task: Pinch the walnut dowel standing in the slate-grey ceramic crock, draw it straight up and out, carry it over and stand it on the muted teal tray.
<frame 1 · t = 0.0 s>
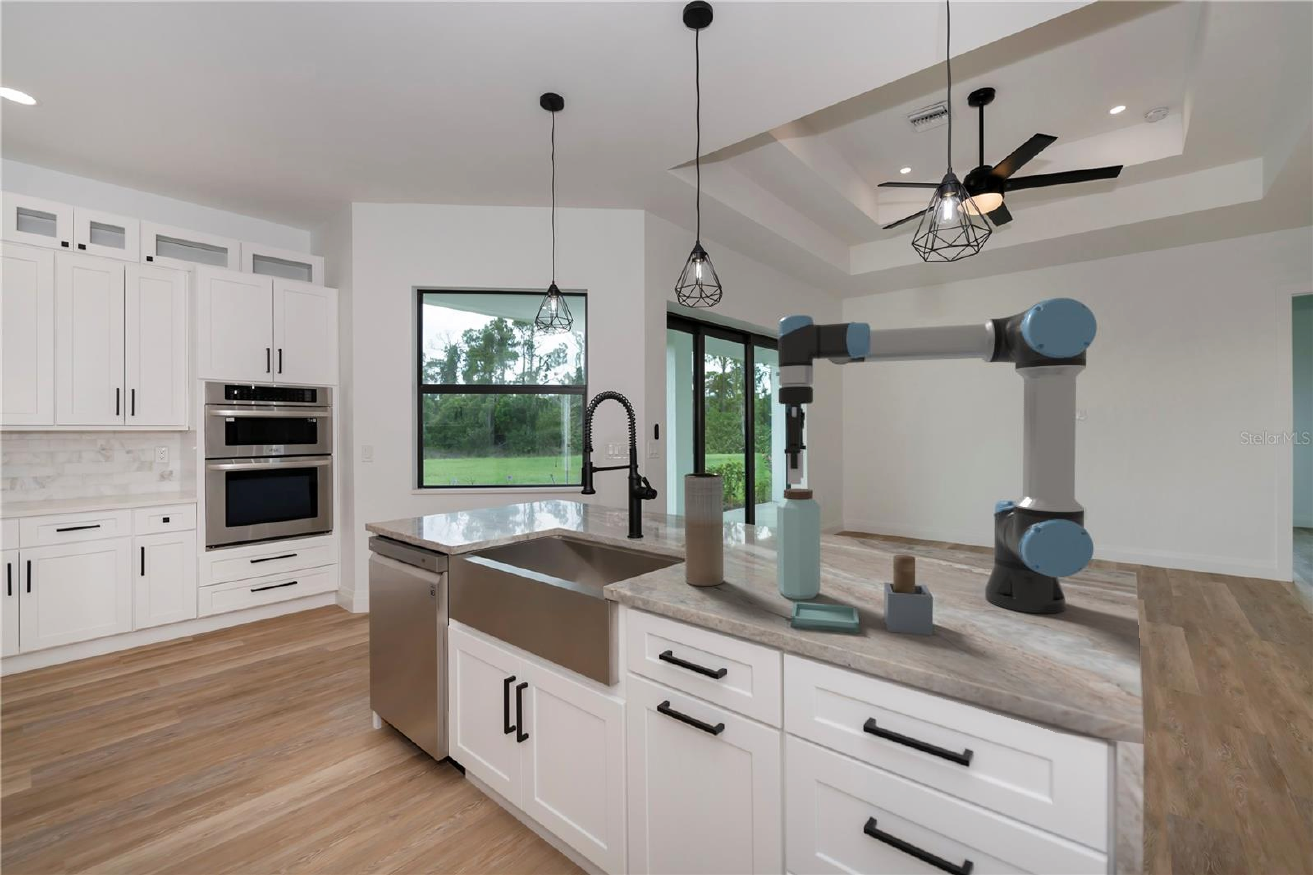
hand: (795, 480, 129), 28 cm above the worktop, fingers open, 13 cm apart
water bottle: (798, 594, 137), on the worktop
tray: (824, 621, 118), on the worktop
dowel: (904, 625, 115), resting in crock
vase: (704, 582, 148), on the worktop
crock: (907, 626, 115), on the worktop
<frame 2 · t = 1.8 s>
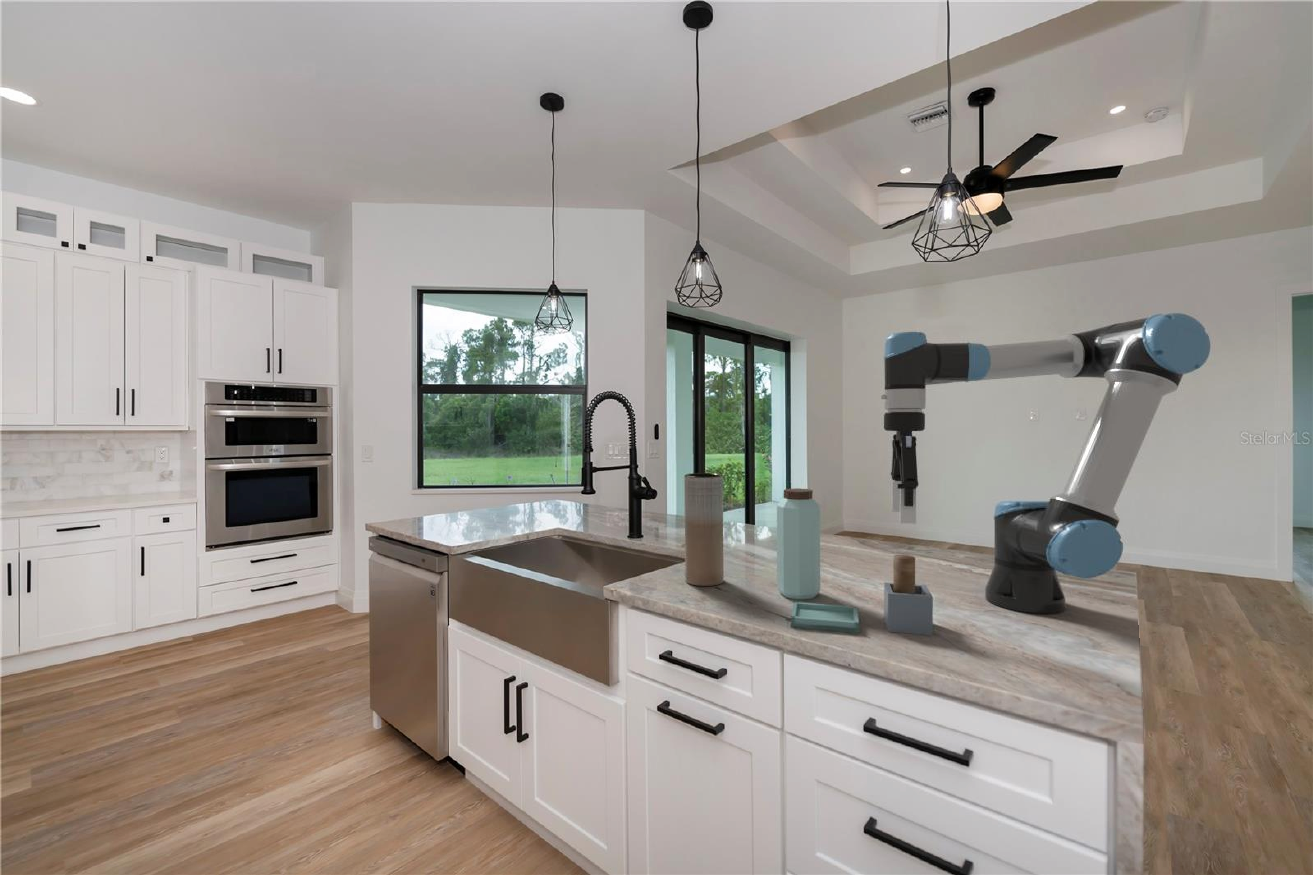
hand: (903, 517, 114), 22 cm above the worktop, fingers open, 13 cm apart
nothing on the worktop moved.
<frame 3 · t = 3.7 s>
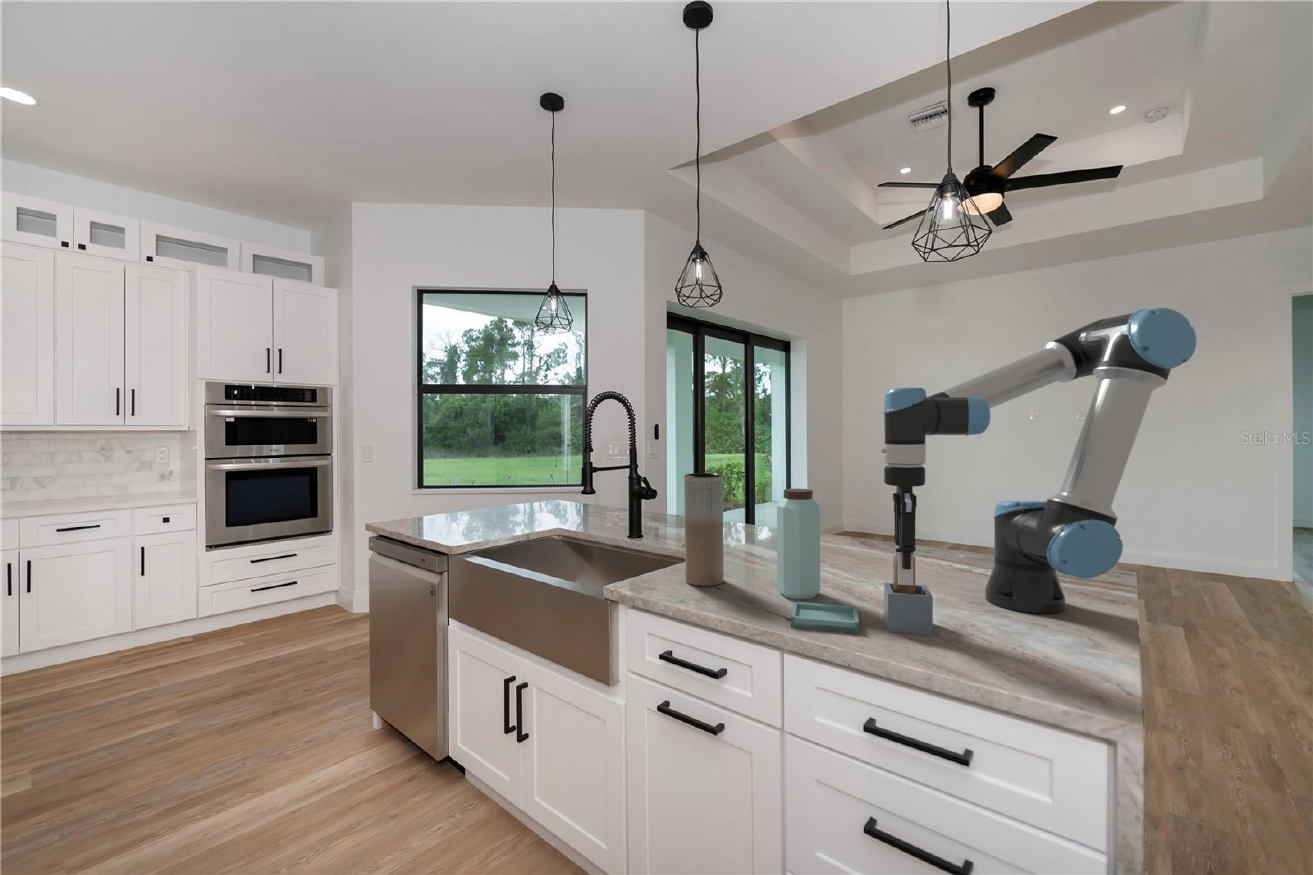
hand: (904, 580, 115), 9 cm above the worktop, fingers closed on dowel, 4 cm apart
dowel: (904, 625, 115), resting in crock, touching gripper
everything else where it was.
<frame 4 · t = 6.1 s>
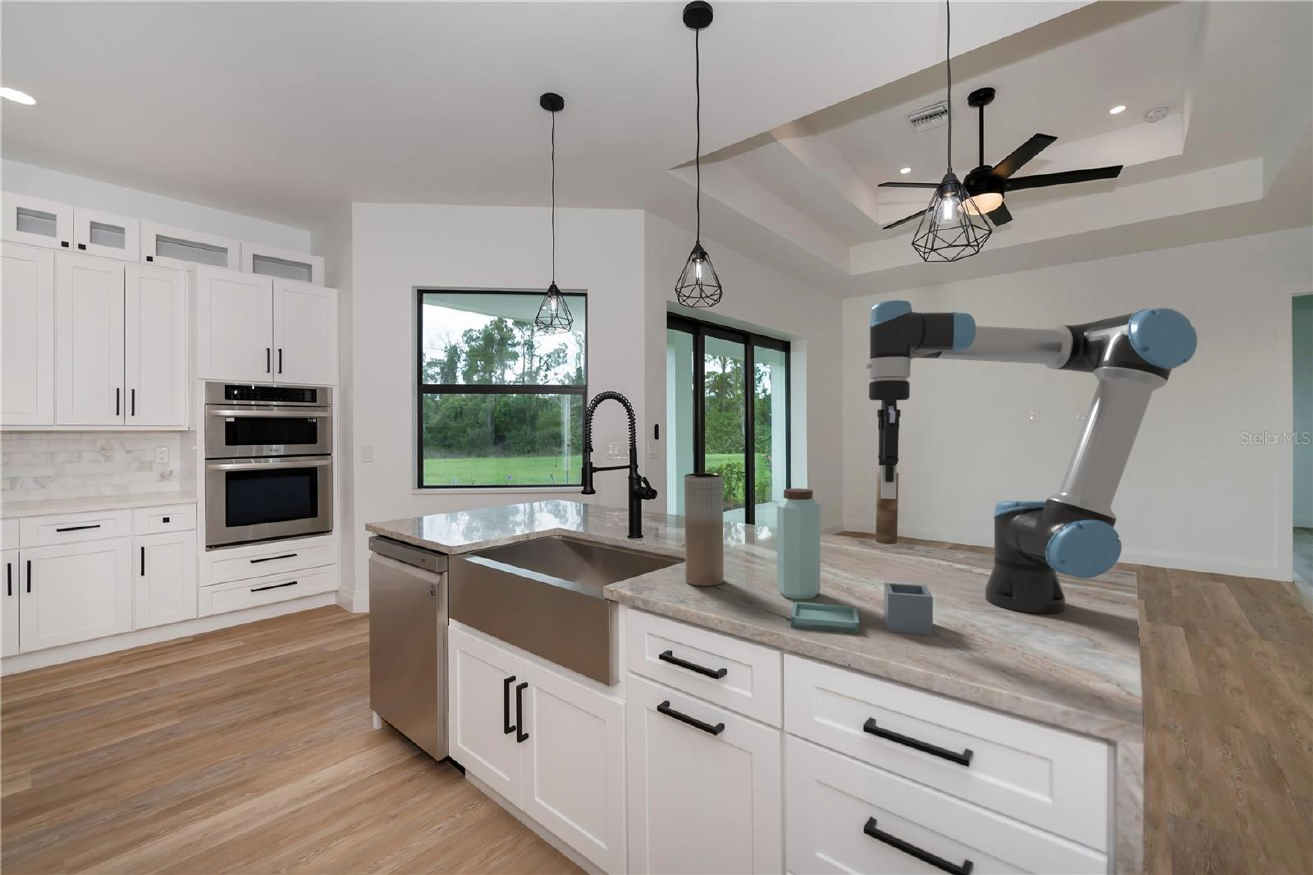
hand: (887, 496, 115), 26 cm above the worktop, fingers closed on dowel, 4 cm apart
dowel: (886, 541, 115), point 17 cm above the worktop, touching gripper
everything else where it was.
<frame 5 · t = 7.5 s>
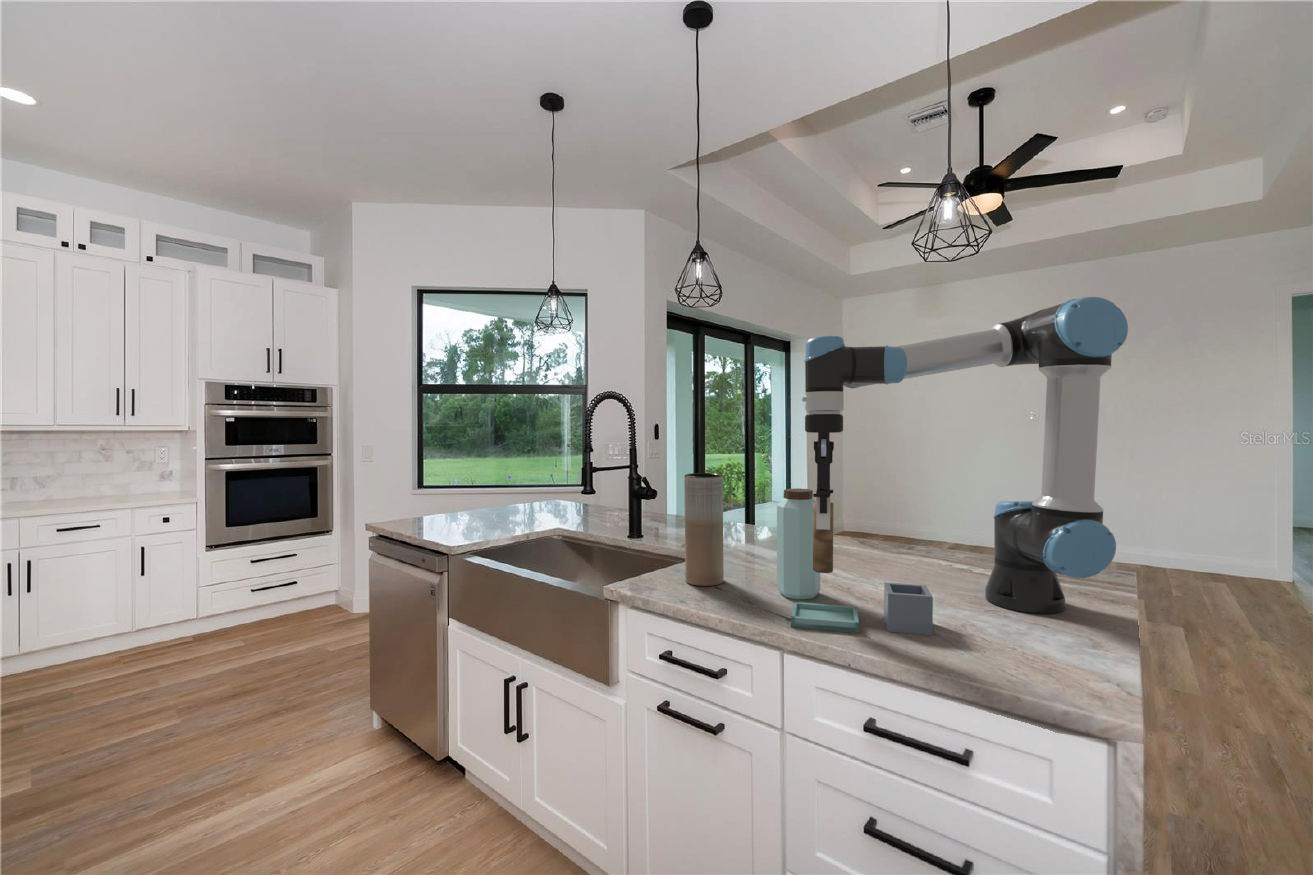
hand: (823, 526, 117), 20 cm above the worktop, fingers closed on dowel, 4 cm apart
dowel: (822, 570, 118), point 11 cm above the worktop, touching gripper
everything else where it was.
when the fingers open (12 cm above the worktop, at t = 8.6 s): dowel drops 1 cm, resting on tray.
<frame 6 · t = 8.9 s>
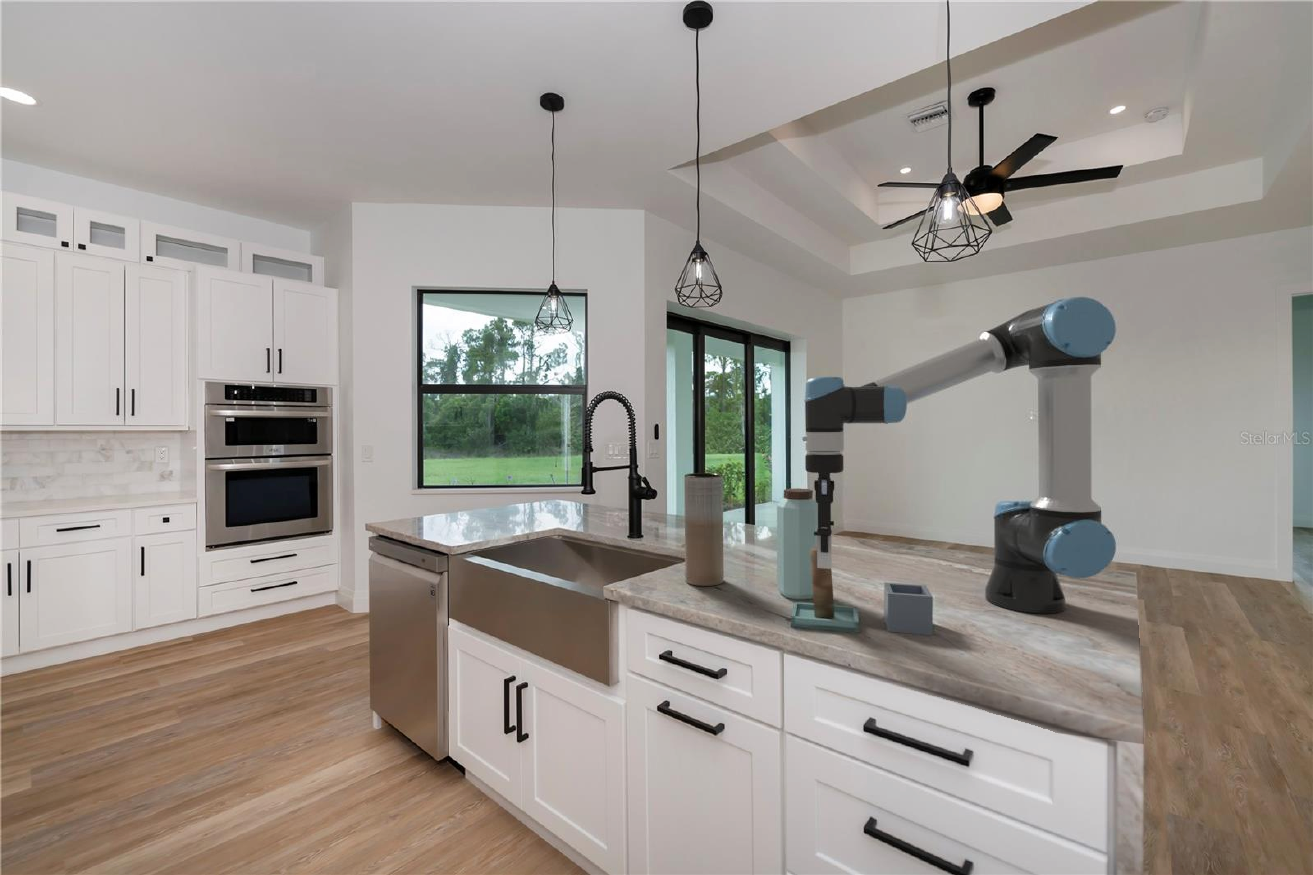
hand: (824, 562, 118), 12 cm above the worktop, fingers open, 9 cm apart
dowel: (824, 616, 118), point 1 cm above the worktop, touching tray
everything else where it was.
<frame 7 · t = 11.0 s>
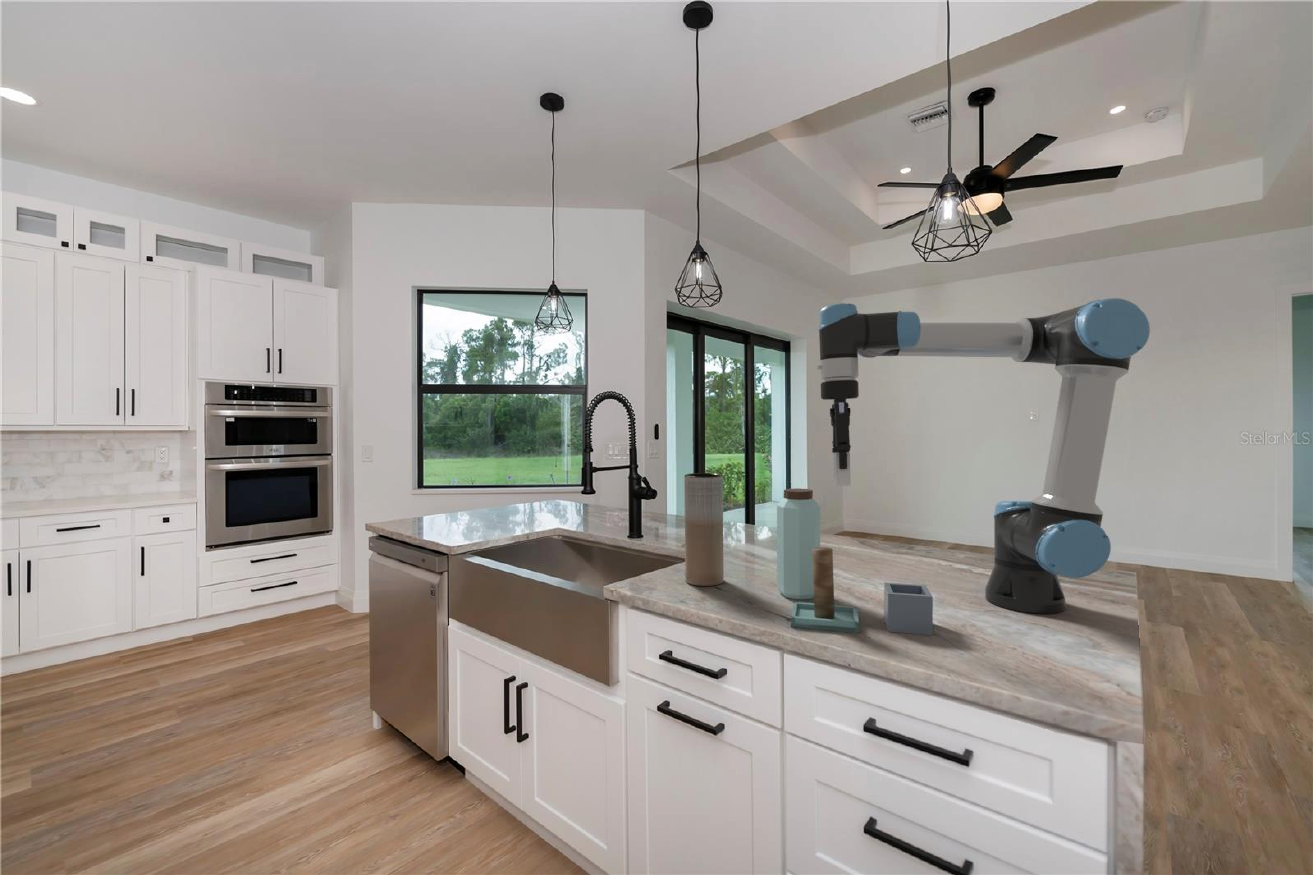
hand: (841, 481, 120), 29 cm above the worktop, fingers open, 13 cm apart
nothing on the worktop moved.
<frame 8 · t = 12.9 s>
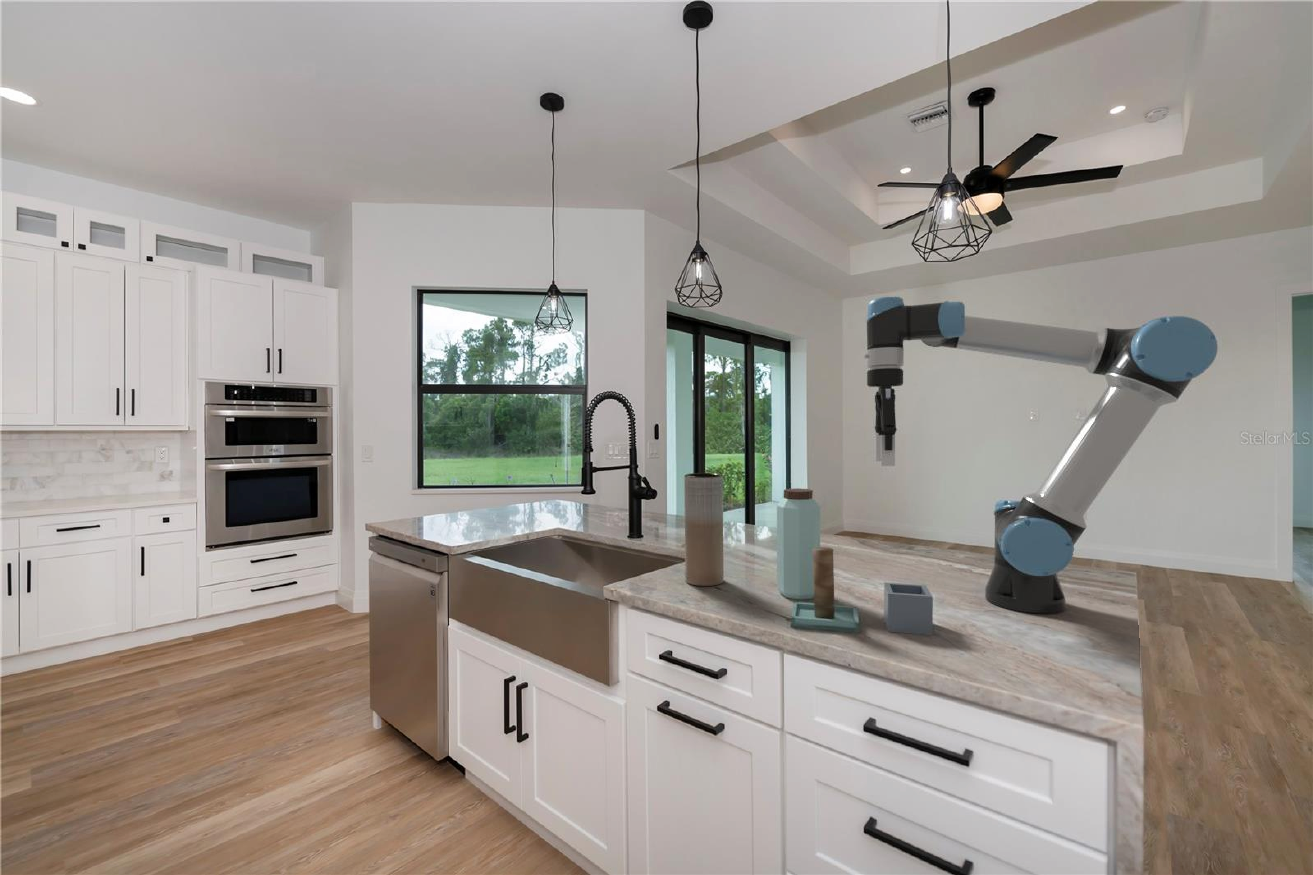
hand: (884, 463, 128), 32 cm above the worktop, fingers open, 13 cm apart
nothing on the worktop moved.
at the end: dowel inside the target area on the tray (0.0 cm from its centre), point 1.0 cm above the tray's base; dowel tilted 1°; the gripper is holding nothing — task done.
